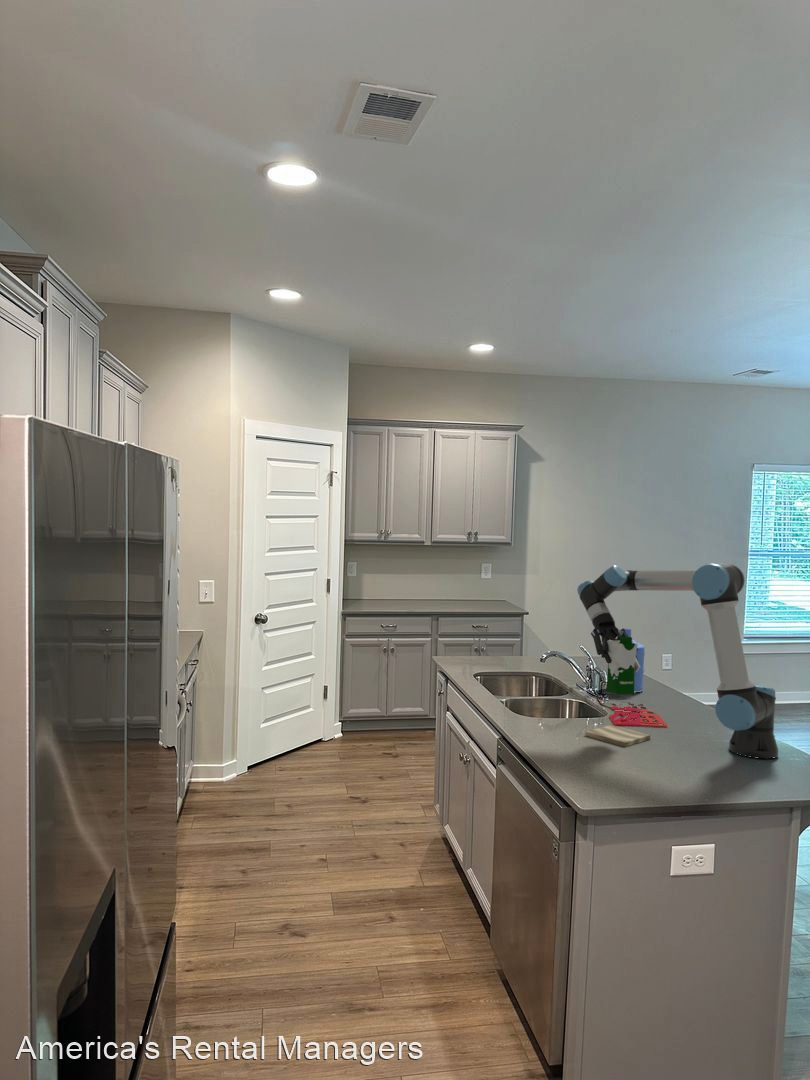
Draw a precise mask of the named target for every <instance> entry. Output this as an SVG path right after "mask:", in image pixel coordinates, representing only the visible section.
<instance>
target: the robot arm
mask: <svg viewBox="0 0 810 1080" xmlns="http://www.w3.org/2000/svg"><path fill="white" fill-rule="evenodd" d="M745 581H746V580H745V576H744V573H743V572H742V570H741V569H740V568H739V567H738V566H737V565H735V564H734V563H733V564H732V563H727V562H726V563H725V562H724V563H721V562H720V563H717V562H714V563H711V562H710V563H707V564H704V565H702V566H700V567H699V568H697V569H660V570H657V569H656V570H655V569H654V570H653V569H652V570H651V569H649V570H648V569H646V570H632V569H631V570H630V569H629V570H624V569H622V567H620V566H618V565H616V564H615V565H611V566H610V567H609V568H607V569H606V570H605V571H604V572H603V573H602V574H600V576H599V577H598V578H596V579H595V580H594V581H593V580H585V581H584V582H581V583H580V584H579V585H578V586H577V588H576V591H577V594H578V596H579V600H580V601H581V602H582V603H581V604H582V605H583V607H584V608H585V610H586V613H587V615H588V617H589V620H590V621H591V622H592V623H591V624H592V626H593V630H592V631H591V632H590V635H591V636H592V638H593V642H594V646H595V650H596V654H597V655H598V656H600V657H601V658H602V659H603V658H604V660H605V661H606V662H605V663H607V664H608V663H609V665H610V667H611V669H612V671H613V673H614V672H616V670H617V669H618V666H617V664H616V662H615V660H614V658H613V656H612V654H611V653H608V643H607V641H620V637H621V636H626V637H629V636H628V635H627V633H626V631H625V629H626V628H623V627H622V629H620V628H619V629H618V627H616V621H615V619H614V618H613V615H612V614H611V611H610V610H609V607H608V606H607V603H606V602H605V599H607V598H608V597H609V596H610V595H612V594H613V593H614V592H623V591H661V592H662V591H666V592H667V591H669V592H670V591H671V592H672V591H673V592H674V591H675V592H678V591H679V592H681V591H682V592H683V591H684V592H687V591H691V592H692V591H693V592H694V593H695V594H696V595H697V597H699V600H700V605H701V607H702V608H704V610H706V612H707V616H708V622H709V627H710V628H709V629H710V633H711V638H712V642H713V649H714V654H715V660H716V665H717V669H718V670H717V672H718V675H719V680H720V681H719V682H720V684H719V685H718V686H717V688H716V691H717V693H716V694H717V697H718V700H717V701H716V703H715V708H714V711H715V715H716V718H717V719H718V721H719V722H720V723H721V725H723V726H724V727H726V728H727V729H729V730H732V731H733V733H732V735H731V737H730V740H729V743H728V750H729V749H730V750H731V751H733V752H735V753H738V754H741V755H746V756H751V757H758V758H773V757H777V756H778V757H779V747H778V744H777V740H776V737H775V733H774V729H775V727H774V726H775V711H776V699H777V697H776V690H775V689H774V687H770V686H765V685H761V684H754V683H753V682H752V681H750V679H749V675H748V669H747V664H746V659H745V654H744V648H743V643H742V637H741V631H740V628H739V627H740V626H739V622H738V617H737V612H736V606H737V604H738V603H739V602H740V601H739V595H738V594H740V592H741V591H742V590H743V588H744V586H745ZM637 650H638V648H637ZM636 652H637V651H636ZM640 668H641V667H640V665H639V663H638V658H637V656H635V672H637V671H638V670H639V669H640ZM730 750H729V751H730ZM731 751H730V752H731ZM733 752H732V753H733ZM735 753H734V754H735ZM738 754H737V755H738ZM741 755H740V756H741ZM778 757H777V758H778Z"/></svg>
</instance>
